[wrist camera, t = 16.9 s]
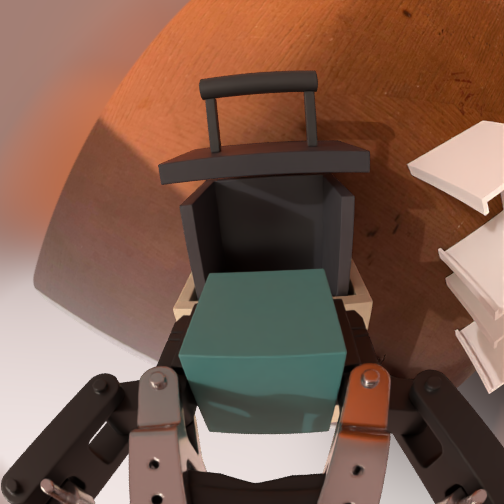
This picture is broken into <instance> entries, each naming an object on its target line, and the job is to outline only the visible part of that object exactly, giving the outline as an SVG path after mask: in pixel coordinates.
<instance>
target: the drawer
mask: <svg viewBox="0 0 504 504" xmlns="http://www.w3.org/2000/svg"><path fill="white" fill-rule="evenodd" d="M317 88H318V80H317V74H316V71H274V72H259V73H247V74H237V75H229V76H221V77H214V78H207V79H201V80H200V83H199V90H200V95H201V98H202V99H203V100H205V102H206V112H207V122H208V131H209V140H210V148H203V149H195V150H192V151H190V152H187V153H185V154H182V155H180V156H178V157H175V158H173V159H170V160H168V161H166V162H163V163H161V164H159V165H158V167H159V173H160V179H161V184H162V185H164V184H172V183H180V182H189V181H198V180H206V181H205V182H204V183H203V184H202V185H201V186H200V187H199V188H198V189H197V190H196V191H195V192H194V193H192V194H191V195H190V196H189V197H188V198H187V199H186V200H185V201H184V202H183V203H182V204H181V205H180V212H181V218H182V224H183V229H184V235H185V240H186V245H187V250H188V256H189V261H190V266H191V270H192V275H193V280H194V285H195V289H196V294H197V298H198V301H199V299H200V296H201V294H202V291H203V288H204V286H205V283H206V281H207V278H208V276H209V274H210V273H232V272H259V271H283V270H305V269H324V270H325V273H326V276H327V280H328V283H329V287H330V290H331V294H332V297H338V296H348V290H349V281H350V270H351V258H352V245H353V228H354V205H355V196H354V195H353V194H352V193H351V192H350V191H349V190H348V189H347V188H346V187H345V186H344V185H343V184H342V183H341V182H340V181H338V180H337V179H336V178H335V177H334V176H333V175H332V174H331V173H330V172H370V152H369V151H367V150H364V149H362V148H359V147H356V146H353V145H350V144H347V143H344V142H341V141H317V125H316V109H315V96H314V92H316V91H317ZM280 92H304V105H305V118H306V134H307V141H287V142H267V143H253V144H241V145H230V146H221V141H220V132H219V122H218V112H217V102H216V99H215V98H222V97H230V96H240V95H250V94H263V93H280ZM293 173H304V174H293ZM272 174H280V175H272ZM256 175H262V176H256ZM242 176H247V177H242ZM229 177H234V178H229ZM218 178H222V179H218ZM207 179H211V180H207Z"/></svg>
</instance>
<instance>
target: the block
mask: <svg viewBox="0 0 504 504" xmlns="http://www.w3.org/2000/svg"><path fill="white" fill-rule="evenodd" d="M346 355H347V350H346V346H345V342H344V338H343V334H342V330H341V326H340V323H339V319H338V315H337V312H336V308H335V304H334V301H333V297H332V294H331V290H330V287H329V283H328V280H327V276H326V273H325V270H324V269H305V270H283V271H259V272H232V273H210V274H209V276H208V278H207V281H206V283H205V286H204V288H203V291H202V294H201V296H200V299H199V301H198V304H197V306H196V309H195V312H194V314H193V317H192V320H191V322H190V325H189V328H188V330H187V333H186V336H185V338H184V341H183V344H182V346H181V349H180V352H179V358H180V361H181V364H182V367H183V369H184V372H185V374H186V377H187V380H188V382H189V385H190V387H191V390H192V392H193V395H194V397H195V400H196V402H197V405H198V407H199V409H200V411H201V414H202V416H203V418H204V421H205V423H206V425H207V427H208V430H209V431H210V432H221V433H239V434H240V433H241V434H292V433H293V434H294V433H311V432H323V431H329V428H330V425H331V421H332V417H333V413H334V409H335V405H336V401H337V397H338V393H339V389H340V384H341V380H342V375H343V370H344V365H345V360H346Z"/></svg>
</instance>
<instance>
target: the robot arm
mask: <svg viewBox="0 0 504 504" xmlns="http://www.w3.org/2000/svg"><path fill="white" fill-rule="evenodd" d="M333 301H334V304H335V308H336V312H337V315H338V319H339V323H340V326H341V330H342V334H343V338H344V342H345V346H346V350H347V355H346V360H345V365H344V370H343V375H342V380H341V384H340V389H339V393H338V397H337V401H336V405H338V406H339V413H340V414H339V417H338V421H337V425H336V429H335V433H334V437H333V441H332V444H331V448H330V452H329V455H328V459H327V462H326V465H325V468H324V471H323V473H322V474H310V475H292V476H288V477H284V478H279V479H275V480H270V481H265V482H260V483H251V482H248V481H244V480H240V479H237V478H233V477H230V476H227V475H224V474H221V473H211V472H207V471H206V468H205V465H204V462H203V459H202V454H201V448H200V442H199V435H198V429H197V422H196V417H195V411H196V407H197V406H198V405H197V402H196V400H195V397H194V395H193V392H192V390H191V387H190V385H189V382H188V380H187V377H186V374H185V372H184V369H183V367H182V364H181V361H180V358H179V352H180V349H181V346H182V344H183V341H184V338H185V336H186V333H187V330H188V328H189V325H190V322H191V320H192V317H193V314H194V312H195V309H196V306H197V304H198V303H195V304H194V306H193V309H192V311H191V314H190V315H183V316H182V317H181V318H180V319H179V320H178V321H177V322H175V324H174V327H173V329H172V331H171V333H170V336H169V338H168V341H167V343H166V345H165V347H164V350H163V352H162V354H161V357H160V359H159V362H158V364H157V366H156V367H153V368H151V369H149V370H147V371H146V372H145V373H144V374H143V375H142V376H141V378H140V380H137V381H131V382H123V383H119V382H118V380H117V378H116V377H115V376H113V375H111V374H106V373H104V374H99V375H97V376H95V377H93V378H92V379H91V380H89V382H88V383H87V384H86V385H85V386H84V387H83V388H82V389H81V390H80V391H79V392H78V393H77V395H76V396H75V397H74V398H73V399H72V400H71V401H70V402H69V403H68V404H67V405H66V406H65V407H64V408H63V410H62V411H61V412H60V413H59V414H58V415H57V416H56V417H55V418H54V419H53V420H52V421H51V423H50V424H49V425H48V426H47V427H46V428H45V429H44V430H43V431H42V433H41V434H40V435H39V436H38V437H37V438H36V440H34V442H33V443H32V444H31V445H30V446H29V447H28V448H27V449H26V451H25V452H24V453H23V454H22V455H21V456H20V458H19V459H18V460H17V461H16V462H15V463H14V464H13V466H12V467H11V468H10V469H9V470H8V472H7V473H6V474H5V475H4V476H3V479H2V483H1V490H2V493H3V495H4V497H5V499H6V500H7V501H8V502H10V503H11V504H95V501H94V499H95V497H96V496H97V495H98V494H99V492H100V491H101V490H102V488H103V487H104V486H105V484H106V483H107V482H108V480H109V479H110V478H111V476H112V475H113V473H114V472H115V471H116V470H117V468H118V467H119V466H120V464H121V463H122V462H123V460H124V459H125V458H126V456H127V455H128V454H129V492H130V504H379V502H380V498H381V493H382V488H383V484H384V478H385V473H386V467H387V460H388V454H389V446H390V433H392V434H393V435H394V437H395V438H396V440H397V442H398V443H399V445H400V447H401V448H402V450H403V451H404V453H405V454H406V456H407V458H408V459H409V461H410V463H411V464H412V466H413V468H414V469H415V471H416V473H417V474H418V476H419V478H420V479H421V481H422V483H423V484H424V486H425V487H426V489H427V491H428V493H429V494H430V496H431V498H432V499H433V501H434V503H435V504H504V448H503V446H502V445H501V443H500V442H499V441H498V439H497V438H496V437H495V435H494V434H493V433H492V431H491V430H490V429H489V428H488V426H487V425H486V424H485V423H484V422H483V420H482V419H481V418H480V416H479V415H478V414H477V413H476V411H475V410H474V409H473V408H472V406H471V405H470V404H469V403H468V402H467V400H466V399H465V398H464V397H463V396H462V395H461V393H460V392H459V391H458V390H457V388H456V387H455V386H454V385H453V384H452V383H451V381H450V380H449V379H448V378H447V377H446V376H445V375H444V374H443V373H441V372H439V371H436V370H425V371H422V372H420V373H419V374H418V375H417V376H416V377H415V379H405V378H397V377H394V376H391V375H389V373H388V371H387V370H386V369H385V368H383V367H382V366H380V365H379V363H378V360H377V357H376V354H375V351H374V348H373V345H372V342H371V340H370V337H369V334H368V331H367V329H366V326H365V323H364V320H363V317H361V316H360V315H359V314H358V313H357V312H356V311H355V310H347V311H346V310H345V306H344V303H343V300H342V299H333ZM336 405H335V406H336ZM105 422H107V423H106V424H105V426H104V427H103V428H102V429H101V430H100V432H99V433H98V434H97V435H96V436H95V438H94V439H93V440H92V441H91V443H90V444H89V442H90V440H91V438H92V437H93V436H94V435H95V434H96V432H97V431H98V430H99V429H100V428H101V426H102V425H103V424H104V423H105Z"/></svg>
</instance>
